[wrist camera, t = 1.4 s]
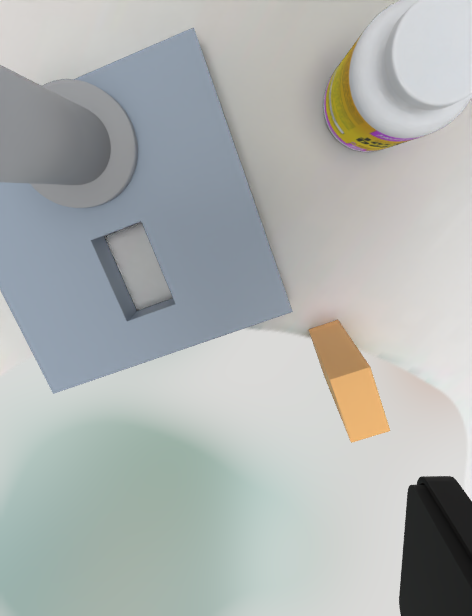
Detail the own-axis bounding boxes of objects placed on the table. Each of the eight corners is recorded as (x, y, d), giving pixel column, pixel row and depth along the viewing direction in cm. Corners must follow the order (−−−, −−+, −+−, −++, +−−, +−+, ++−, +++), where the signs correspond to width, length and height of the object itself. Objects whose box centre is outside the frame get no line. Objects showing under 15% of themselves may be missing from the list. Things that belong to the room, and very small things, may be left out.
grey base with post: (198, 42, 31) (140, -126, 15) (289, 302, 36) (322, 396, 19) (-46, 147, 33) (-336, 104, 17) (68, 378, 38) (-72, 521, 21)
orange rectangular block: (337, 319, 36) (370, 366, 26) (353, 368, 37) (390, 430, 27) (308, 329, 36) (329, 379, 26) (324, 377, 37) (351, 442, 27)
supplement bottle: (329, 162, 33) (378, 144, 20) (314, 66, 31) (356, -17, 19) (420, 140, 32) (528, 108, 20) (409, 42, 31) (518, -61, 18)
